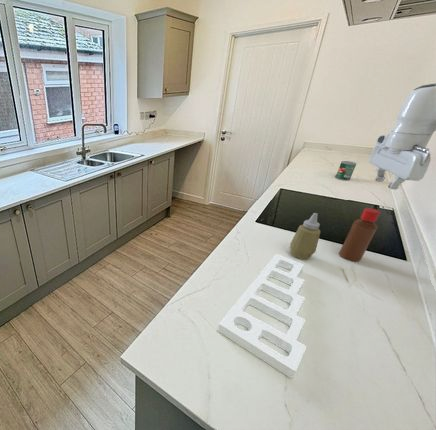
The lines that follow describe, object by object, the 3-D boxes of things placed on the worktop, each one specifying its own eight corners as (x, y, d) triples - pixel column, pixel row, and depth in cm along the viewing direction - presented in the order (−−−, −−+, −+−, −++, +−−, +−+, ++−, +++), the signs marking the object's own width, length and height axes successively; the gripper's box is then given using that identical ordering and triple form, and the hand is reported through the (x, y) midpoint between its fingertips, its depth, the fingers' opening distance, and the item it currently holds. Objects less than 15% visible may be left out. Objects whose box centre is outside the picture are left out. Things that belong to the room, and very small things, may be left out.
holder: (274, 259, 98) (276, 253, 97) (333, 283, 86) (336, 276, 85) (216, 330, 70) (218, 323, 69) (292, 379, 59) (295, 371, 58)
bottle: (357, 254, 101) (380, 209, 92) (363, 263, 95) (387, 217, 87) (337, 250, 103) (357, 206, 94) (341, 259, 98) (363, 213, 89)
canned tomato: (332, 177, 180) (338, 161, 175) (340, 176, 182) (346, 160, 177) (344, 181, 173) (351, 164, 168) (352, 179, 175) (359, 163, 170)
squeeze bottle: (290, 259, 98) (306, 217, 90) (284, 247, 105) (299, 207, 97) (315, 263, 96) (334, 220, 88) (308, 251, 103) (324, 210, 94)
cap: (373, 217, 93) (378, 209, 91) (377, 222, 89) (382, 213, 88) (358, 215, 94) (363, 206, 93) (362, 220, 91) (367, 211, 89)
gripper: (447, 150, 70) (420, 197, 76) (397, 136, 88) (378, 176, 94) (417, 149, 72) (393, 195, 78) (374, 135, 89) (357, 174, 95)
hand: (385, 184), depth 86 cm, fingers open, 6 cm apart
